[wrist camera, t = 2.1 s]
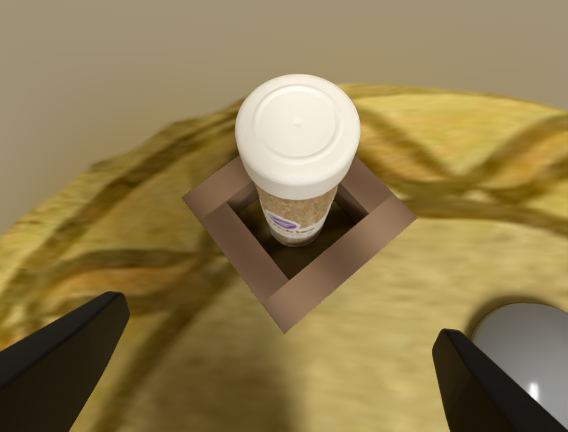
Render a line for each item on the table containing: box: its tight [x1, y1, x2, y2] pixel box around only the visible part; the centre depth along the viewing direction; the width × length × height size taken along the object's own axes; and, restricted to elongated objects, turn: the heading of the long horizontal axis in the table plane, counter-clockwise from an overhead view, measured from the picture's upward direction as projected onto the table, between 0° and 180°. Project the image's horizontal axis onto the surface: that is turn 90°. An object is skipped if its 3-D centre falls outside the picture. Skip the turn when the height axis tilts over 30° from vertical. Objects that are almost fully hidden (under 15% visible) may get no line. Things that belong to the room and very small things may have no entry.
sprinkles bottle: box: [235, 74, 360, 247], centre depth 16 cm, size 5×4×14 cm
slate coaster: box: [470, 303, 568, 430], centre depth 19 cm, size 9×9×1 cm
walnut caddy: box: [182, 155, 417, 334], centre depth 21 cm, size 12×12×4 cm
